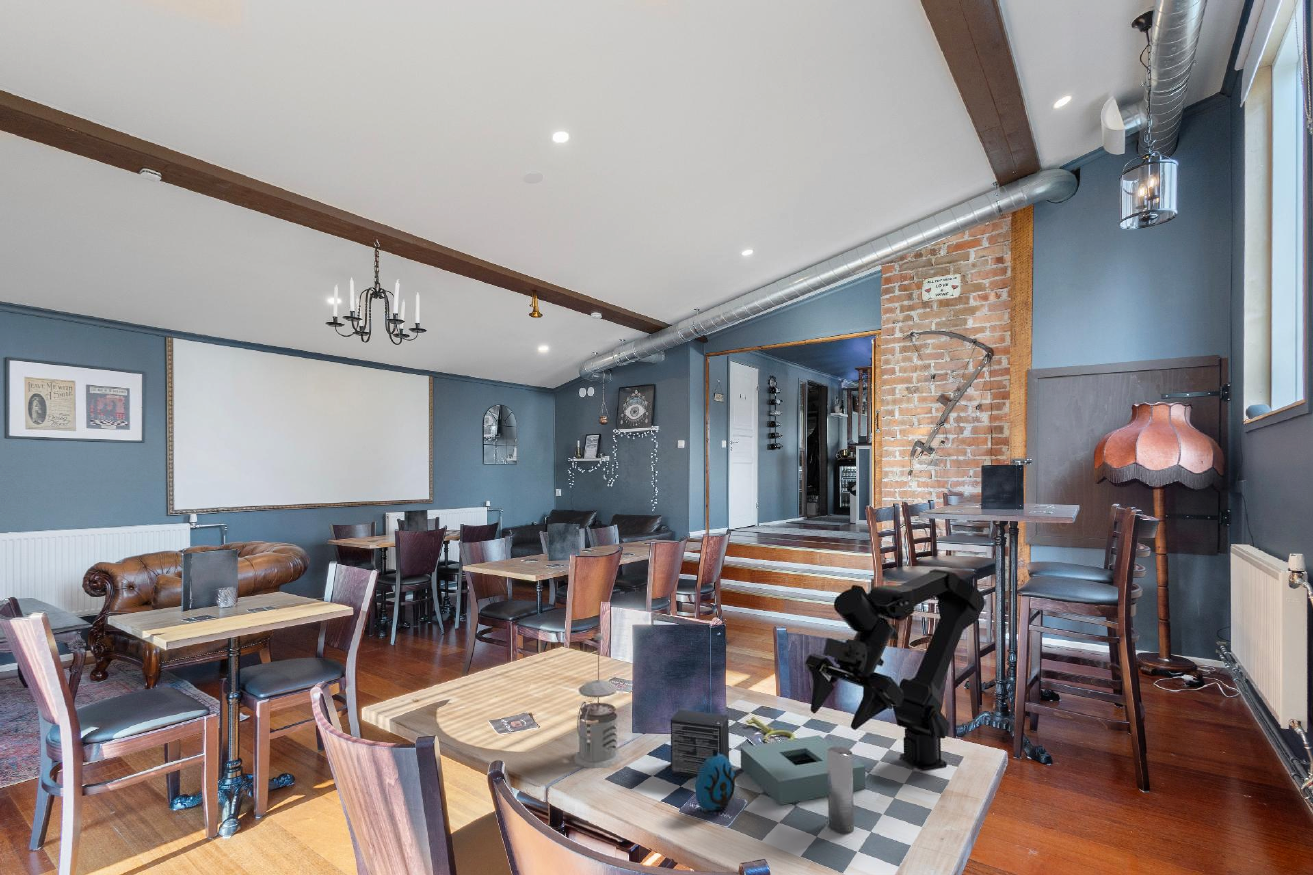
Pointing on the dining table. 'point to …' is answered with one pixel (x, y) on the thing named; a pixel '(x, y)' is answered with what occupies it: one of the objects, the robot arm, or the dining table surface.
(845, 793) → the tube
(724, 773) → the ornament
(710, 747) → the small box
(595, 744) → the french press
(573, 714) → the dining table surface
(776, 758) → the box
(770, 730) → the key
